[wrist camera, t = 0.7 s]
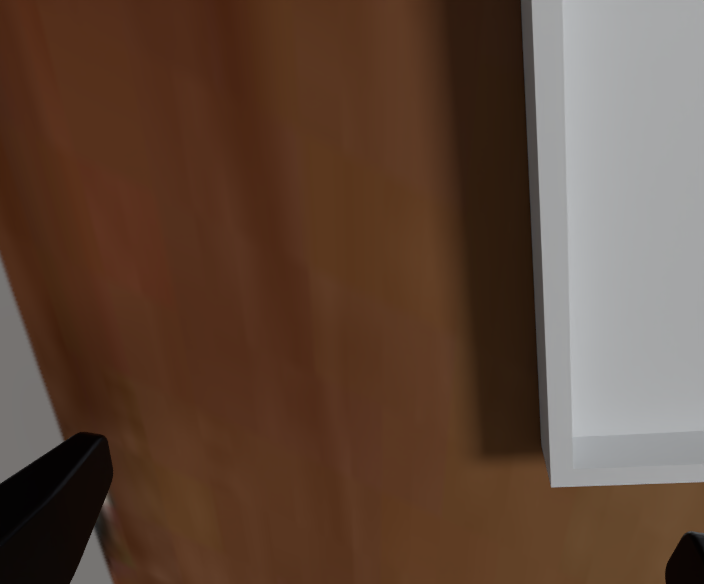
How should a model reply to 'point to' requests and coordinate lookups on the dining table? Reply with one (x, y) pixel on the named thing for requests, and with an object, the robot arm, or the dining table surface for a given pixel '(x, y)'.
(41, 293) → the dining table surface
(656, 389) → the tray
